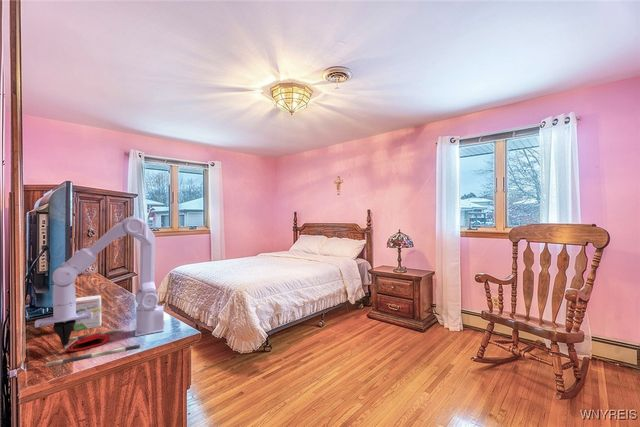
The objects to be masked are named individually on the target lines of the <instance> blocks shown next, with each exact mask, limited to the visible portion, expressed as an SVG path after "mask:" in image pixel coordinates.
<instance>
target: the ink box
mask: <svg viewBox="0 0 640 427" xmlns="http://www.w3.org/2000/svg"><path fill="white" fill-rule="evenodd" d="M87 312H93V318H92V319H85V320H78V321H76V323H75V325H74V327H73V331H74V332H75V331H80V330H87V329H93V328H100V327H101V325H102V295H100V294H98V295H97V294H96V295H91V296H90V295H89V296H82V297H76V313H87Z"/></svg>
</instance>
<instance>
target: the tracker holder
mask: <svg viewBox="0 0 640 427" xmlns="http://www.w3.org/2000/svg"><path fill="white" fill-rule="evenodd" d="M90 334H91V335H89V334H87V335H88V336H85V337H83V338H81V339H76V340H72V341H69V343H68V344H67V345H64V350H66V351H68V352H78V351H83V350H87V349H91V348H95V347H98V346H101V345H104V344H106V343H107V342H108V341H109V340H110V334H108V333H102V334H95V333H90ZM98 339H103V340H102V342H101V343H96V344H94V345H93V344H92V345H88V346H85V347H80V348H75V349H74V348H72V347H75V345H82V344H84V343H88V342H92V341H94V340H95V341H96V340H98ZM71 348H72V349H71Z"/></svg>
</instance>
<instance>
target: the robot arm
mask: <svg viewBox="0 0 640 427" xmlns="http://www.w3.org/2000/svg"><path fill="white" fill-rule="evenodd" d="M127 235H130V236H133V237H134V238H135V239H137V241H139V242H140V246H139V247H140V252H139V253H140V254H139V259H140V260H139V284H138V285H137V286H138V288H137V292H136V293H135V298H134V299H135V302H136V303H137V306H136V307H135V317H136V318H135V319H136V320H135V321H136V323H135V324H136V326H135V330H134V337H138V336H145V335H150V334H156V333H161V332H164V331H165V326H164V325H165V317H164V316H165V315H164V313H165V312H164V305H158V304H159V300H160V299H159V298H160V297H159V296H158V293H157V288H156V284H155V271H156V270H155V268H156V264H155V263H156V261H155V260H156V236H155V234H154V233H153V231H152V229H151V228H150V227H149V225H148V223H147V222H146V221H144V220H143V219H141V218H140V217H135V216H133V217H131V216H130V217H129V216H128V217H125V218H124V219H122V221H121V222H118V223H117V224H115V225H114V226H113V227H111V228H110V229H108V230H107V231H106V232H105V233H104V234H103V235H102V236H101V237H99V238H98V240H97V241H95V242H94V243H93V244H92V245H90V246H89V247H88V248H81V249H80V250H78V249H76V250H75V252H74V255H73V256H71V257H70V258H69V259H68V260H67V261H63V262H62V263H61V264H60V265H61V266H60V267H58V268H56V269H55V270H54V271H53V273H52V282H53V286H52V289H53V290H52V302H53V303H52V306H53V307H52V308H53V309H52V310H53V316H50V317H45V318H40V319H36V320H35V321H34V328H39V327H44V326H50V325H53V328H52V329H53V331H54V332H55V333H56V335H57V336H58V337H59V340H60V341H61V346H62V347H63V346H64V347H65V346H66V345H67V344H68V343H70V341H69V338H71V334H72V332H73V330H74V325H75V323H76V321H78V320H85V319H92V318H93V312H87V313H76V298H77V297H76V295H77V294H76V292H77V291H76V287H75V281H76V279H77V276H78V275H81V274H82V273H83V272H84V271H85V270H86V269H88V268H89V267H90V266H91V265H92V264H94V263H95V262H96V261H97V259H98V258H97V255H98V254H99V253H100V252H101V251H102V250H104V249H105V248H106V247H108V245H110V244H112V242H114V241H115V240H117V239H118V238H122V237H125V236H127Z"/></svg>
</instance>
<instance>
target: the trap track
mask: <svg viewBox="0 0 640 427" xmlns="http://www.w3.org/2000/svg"><path fill="white" fill-rule="evenodd" d="M124 332H125V328H120V329H113V330H107V331H101V332H94V334H102V333H108V334H109V335H110V334H111V335H112V334H117V333H124ZM91 334H92V333H90V334H85V335H79V336H73V337H71V336H70V338H69V342H73V341H75V340H76V339H78V340H80V339H81V338H83V337H85V336H88V335H91ZM140 348H141V344H135V345H129V346H125V347H120V348H115V349H108V350H105V351H100V352H99V351H98V352H94V353H89V354H85V355H79V356H74V357H69V358H64V359H63V358H62V359H59V360H58V359H57V360H54V361H53V360H52V361H48V362H45V364H44V367H45V368H46V367H50V366H52V367H53V366H56V365H61V364H65V363H67V364H68V363H70V362H76V361H81V360H85V359H91V358H96V357H101V356H106V355H112V354H115V353H122V352H125V351H126V352H127V351H131V350H135V349H136V350H137V349H140Z"/></svg>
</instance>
